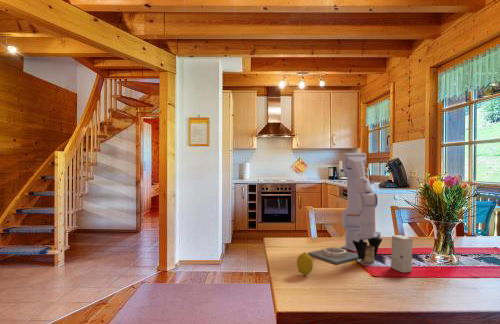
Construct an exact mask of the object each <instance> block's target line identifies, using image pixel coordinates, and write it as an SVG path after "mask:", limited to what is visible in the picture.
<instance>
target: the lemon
mask: <svg viewBox="0 0 500 324" xmlns="http://www.w3.org/2000/svg"><path fill="white" fill-rule="evenodd" d="M296 267H297V270H298V272H299V274H301V275H303V276H304V277H306V276H307V275H309V274H310V273H311V272H312V270H313V268H314V261H313V257H312V256H310V255H309V254H308V252H303V253H300V254H299V255H298V257H297V259H296Z"/></svg>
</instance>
